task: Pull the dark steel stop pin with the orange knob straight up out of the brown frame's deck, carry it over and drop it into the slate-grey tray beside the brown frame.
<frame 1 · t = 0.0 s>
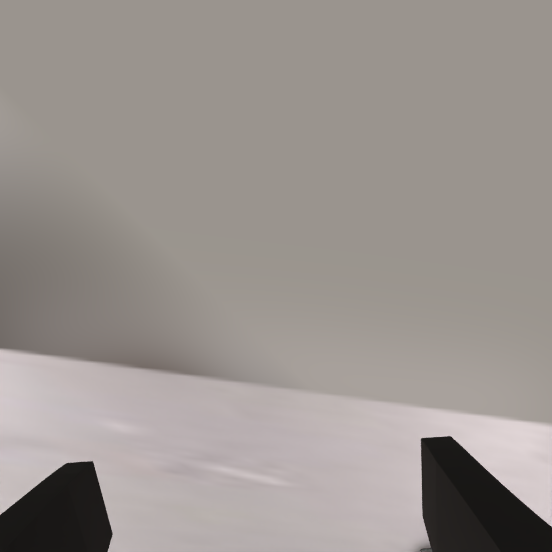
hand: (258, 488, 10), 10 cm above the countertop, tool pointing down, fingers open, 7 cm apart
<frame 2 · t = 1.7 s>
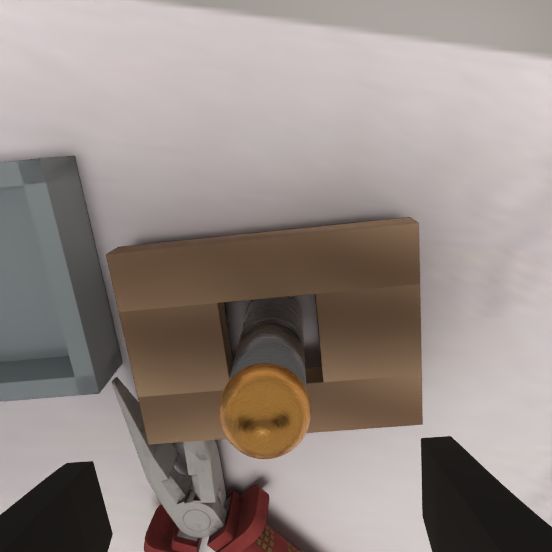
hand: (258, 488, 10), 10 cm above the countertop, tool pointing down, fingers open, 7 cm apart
pliers: (261, 541, 23), on the countertop, touching brown frame
stop pin: (269, 363, 15), in the brown frame
brown frame: (274, 318, 19), on the countertop
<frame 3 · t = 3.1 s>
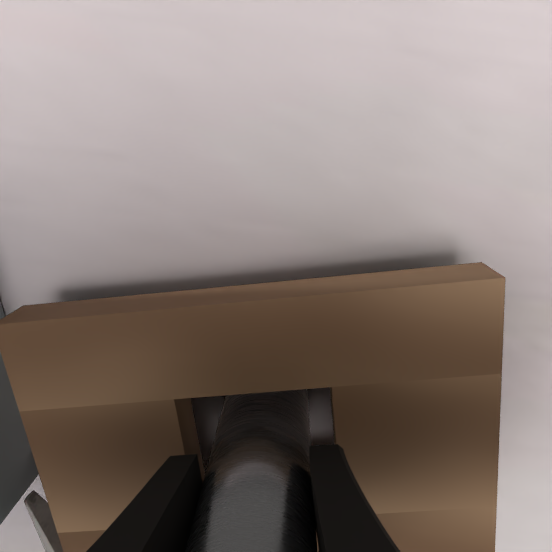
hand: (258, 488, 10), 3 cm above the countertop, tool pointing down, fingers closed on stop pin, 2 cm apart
stop pin: (256, 511, 9), in the brown frame, touching gripper
brown frame: (267, 401, 13), on the countertop
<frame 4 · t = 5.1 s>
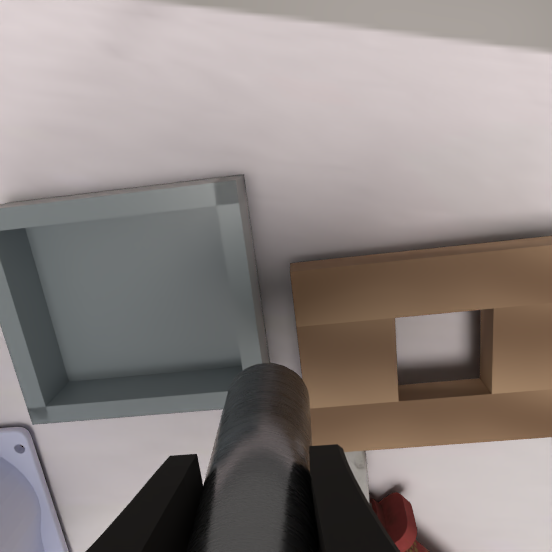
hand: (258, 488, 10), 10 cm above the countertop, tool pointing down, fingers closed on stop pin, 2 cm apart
tray: (145, 292, 20), on the countertop
pliers: (392, 547, 23), on the countertop, touching brown frame
stop pin: (257, 510, 9), point 11 cm above the countertop, touching gripper
brown frame: (426, 330, 20), on the countertop
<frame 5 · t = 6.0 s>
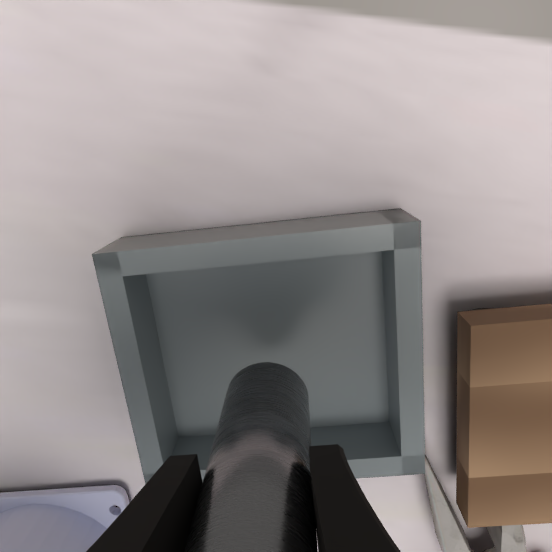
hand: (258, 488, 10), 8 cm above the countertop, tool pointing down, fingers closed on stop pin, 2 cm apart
tray: (272, 339, 17), on the countertop
stop pin: (256, 509, 9), point 8 cm above the countertop, touching gripper
when the fingers open (6 cm above the countertop, at t = 7.0 s): stop pin drops 2 cm, resting on tray.
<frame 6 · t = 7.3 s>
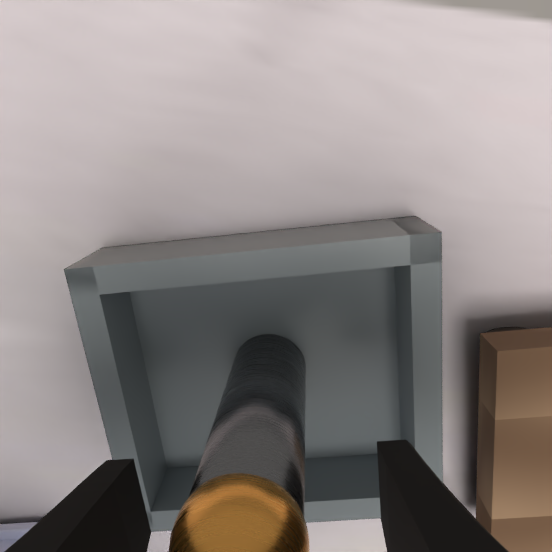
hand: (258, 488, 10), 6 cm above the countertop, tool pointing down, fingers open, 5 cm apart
tray: (271, 360, 15), on the countertop
stop pin: (256, 447, 11), in the tray
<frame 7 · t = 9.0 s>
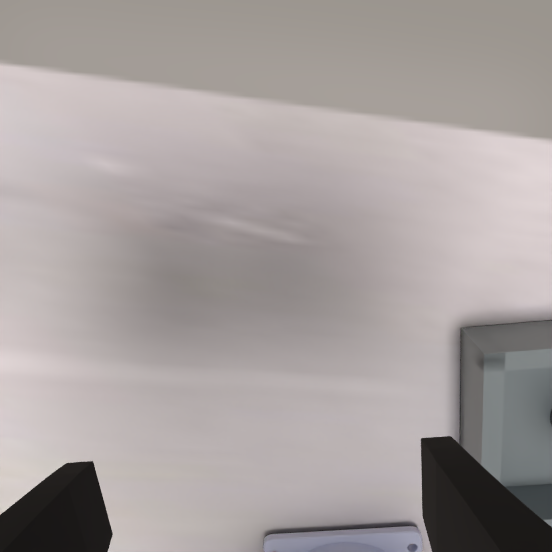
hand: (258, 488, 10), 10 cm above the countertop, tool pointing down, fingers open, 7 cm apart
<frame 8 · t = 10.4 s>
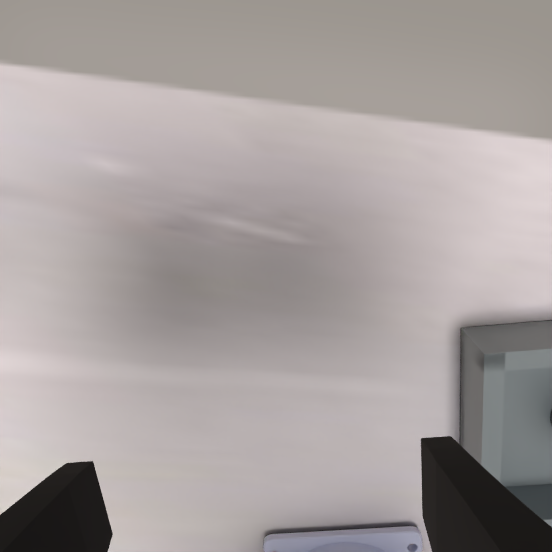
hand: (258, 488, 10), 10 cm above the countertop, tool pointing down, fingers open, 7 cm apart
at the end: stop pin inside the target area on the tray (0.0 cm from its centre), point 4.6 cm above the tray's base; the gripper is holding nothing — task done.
